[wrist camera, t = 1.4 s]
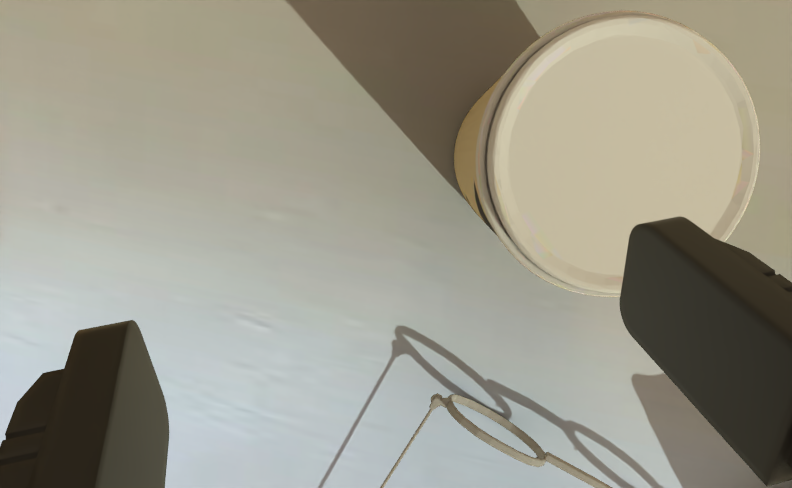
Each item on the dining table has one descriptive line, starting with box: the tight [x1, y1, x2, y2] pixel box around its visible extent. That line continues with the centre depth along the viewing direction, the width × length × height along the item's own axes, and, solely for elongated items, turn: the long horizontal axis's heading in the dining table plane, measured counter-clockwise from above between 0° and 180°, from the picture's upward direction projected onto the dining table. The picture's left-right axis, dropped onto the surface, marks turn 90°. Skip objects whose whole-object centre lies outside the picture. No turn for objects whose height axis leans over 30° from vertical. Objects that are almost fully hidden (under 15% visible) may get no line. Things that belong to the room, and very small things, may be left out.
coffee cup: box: [454, 11, 760, 297], centre depth 26 cm, size 9×9×12 cm
